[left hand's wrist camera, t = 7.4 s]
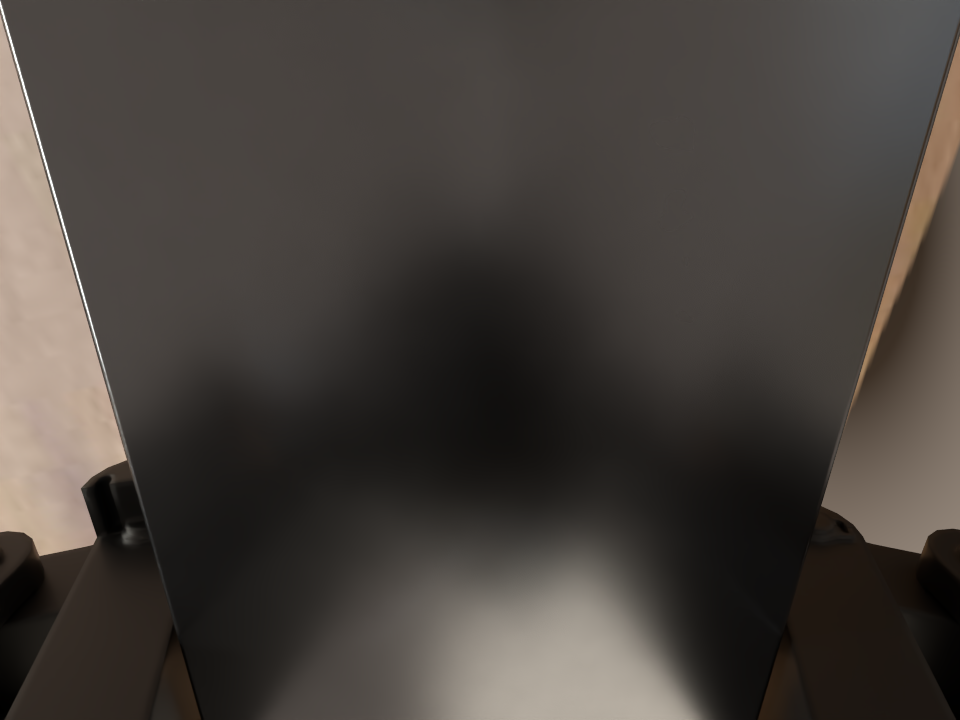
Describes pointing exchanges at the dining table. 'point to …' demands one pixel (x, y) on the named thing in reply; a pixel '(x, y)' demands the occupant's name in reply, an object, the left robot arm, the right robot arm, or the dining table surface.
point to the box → (481, 327)
